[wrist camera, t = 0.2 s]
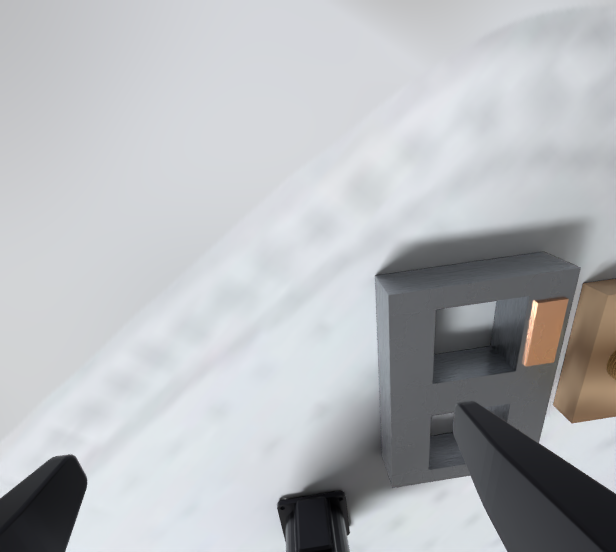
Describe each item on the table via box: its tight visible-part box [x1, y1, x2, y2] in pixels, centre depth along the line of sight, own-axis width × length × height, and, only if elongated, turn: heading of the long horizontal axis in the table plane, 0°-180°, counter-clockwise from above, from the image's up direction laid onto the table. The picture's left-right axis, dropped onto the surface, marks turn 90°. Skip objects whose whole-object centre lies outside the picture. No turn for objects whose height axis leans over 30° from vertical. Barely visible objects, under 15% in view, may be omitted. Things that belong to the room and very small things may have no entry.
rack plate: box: [375, 252, 580, 488], centre depth 25 cm, size 18×12×3 cm, turn 7°
